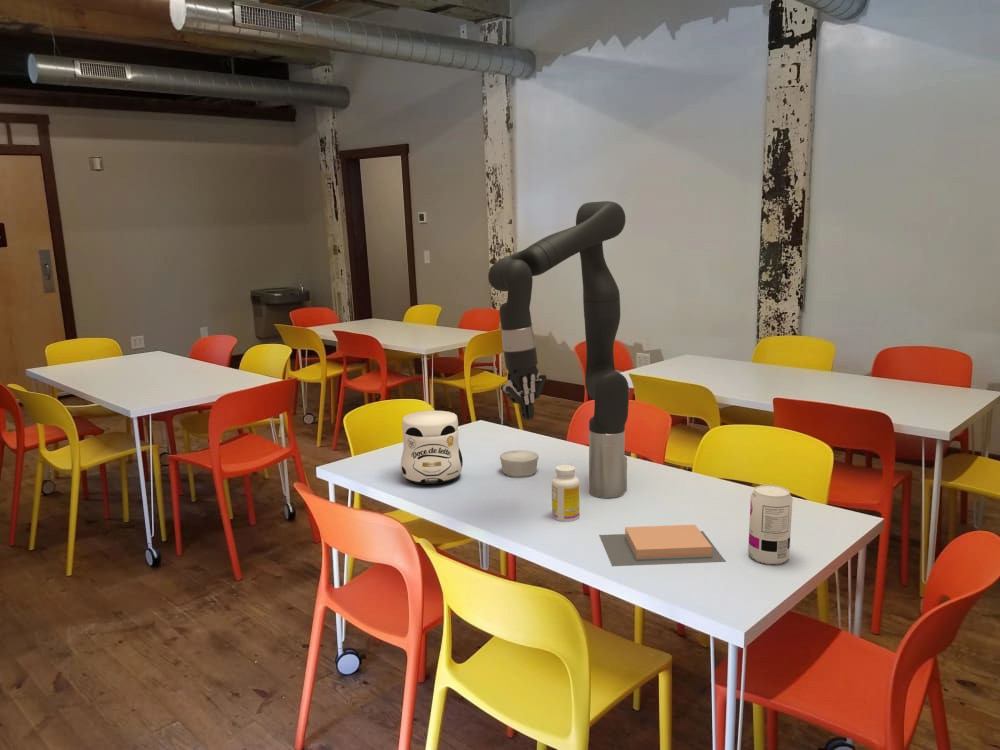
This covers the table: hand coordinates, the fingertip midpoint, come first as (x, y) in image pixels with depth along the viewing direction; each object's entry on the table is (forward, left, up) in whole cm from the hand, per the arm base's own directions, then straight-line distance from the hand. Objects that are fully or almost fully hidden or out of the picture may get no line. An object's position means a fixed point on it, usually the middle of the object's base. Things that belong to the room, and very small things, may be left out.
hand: (528, 418), depth 180 cm
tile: (-6, +27, -24) cm, 37 cm away
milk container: (+1, -42, -26) cm, 49 cm away
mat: (-11, +31, -26) cm, 42 cm away
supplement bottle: (-8, +4, -26) cm, 27 cm away
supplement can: (-26, +48, -26) cm, 60 cm away
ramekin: (-21, -30, -26) cm, 45 cm away
